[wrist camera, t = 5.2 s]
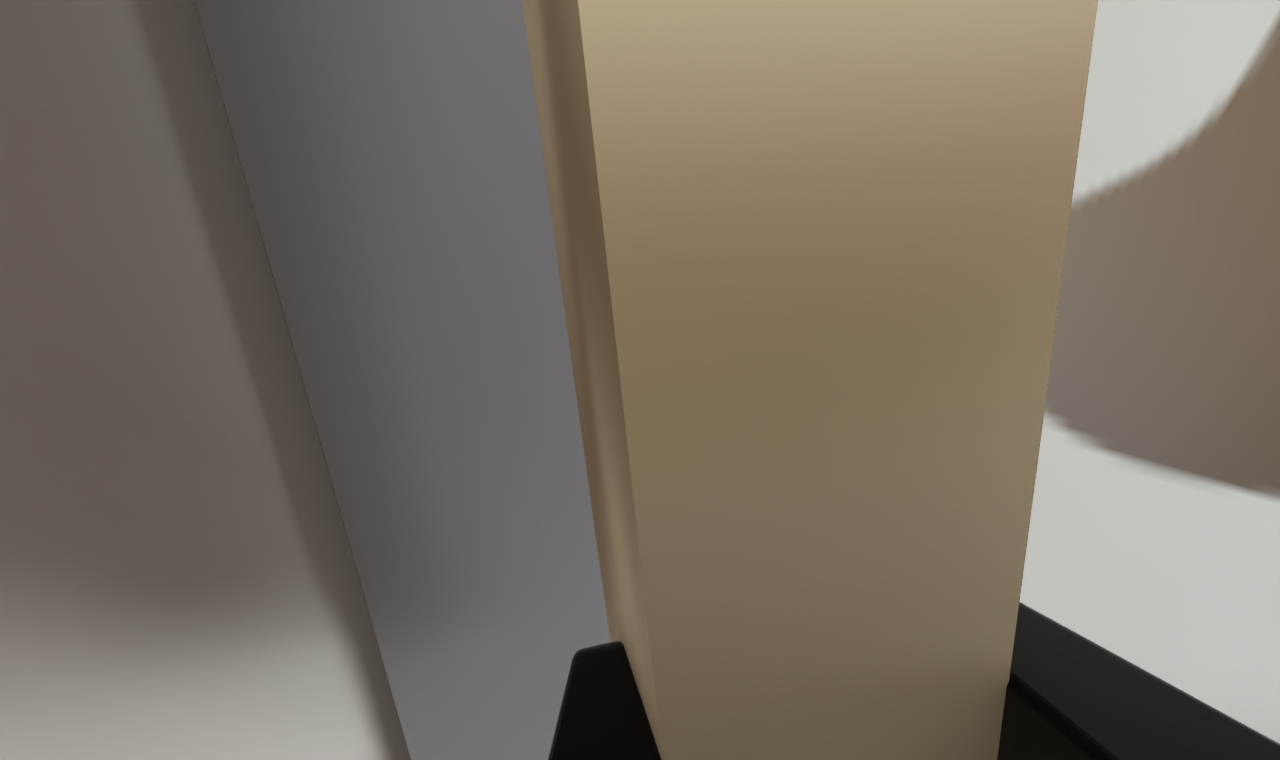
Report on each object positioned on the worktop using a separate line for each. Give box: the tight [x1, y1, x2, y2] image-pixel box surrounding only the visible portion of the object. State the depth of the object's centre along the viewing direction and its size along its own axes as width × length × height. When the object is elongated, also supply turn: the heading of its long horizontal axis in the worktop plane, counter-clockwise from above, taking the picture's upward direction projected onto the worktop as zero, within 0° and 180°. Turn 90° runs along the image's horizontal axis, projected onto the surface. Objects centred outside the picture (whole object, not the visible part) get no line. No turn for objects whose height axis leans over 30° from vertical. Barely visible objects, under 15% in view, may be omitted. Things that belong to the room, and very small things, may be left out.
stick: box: [522, 0, 1098, 760], centre depth 6 cm, size 14×2×2 cm, turn 5°
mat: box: [194, 0, 610, 760], centre depth 13 cm, size 18×8×1 cm, turn 5°
